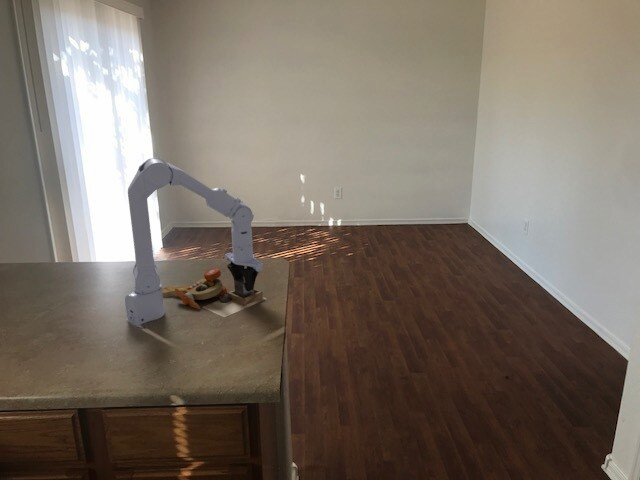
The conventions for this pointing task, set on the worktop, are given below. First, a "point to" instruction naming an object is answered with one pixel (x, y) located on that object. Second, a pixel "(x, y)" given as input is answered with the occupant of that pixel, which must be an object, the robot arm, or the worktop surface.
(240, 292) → the grey rectangular block
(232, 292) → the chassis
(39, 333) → the worktop surface
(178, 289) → the toy helicopter
